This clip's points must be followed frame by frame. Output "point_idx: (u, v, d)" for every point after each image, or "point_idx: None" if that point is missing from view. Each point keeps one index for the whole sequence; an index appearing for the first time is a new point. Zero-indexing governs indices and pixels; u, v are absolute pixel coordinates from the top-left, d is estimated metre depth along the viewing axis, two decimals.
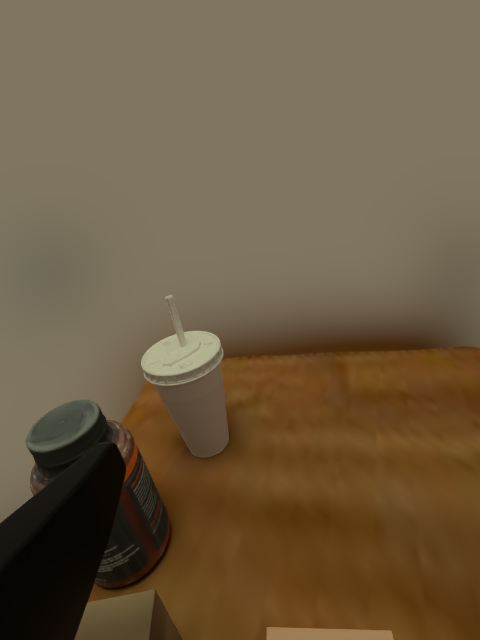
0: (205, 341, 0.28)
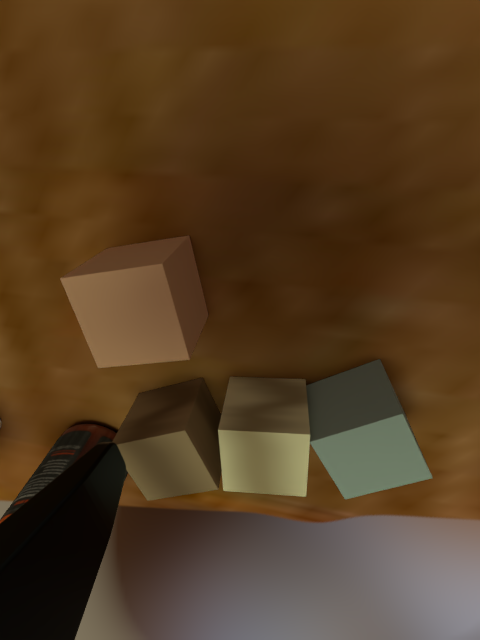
0: None
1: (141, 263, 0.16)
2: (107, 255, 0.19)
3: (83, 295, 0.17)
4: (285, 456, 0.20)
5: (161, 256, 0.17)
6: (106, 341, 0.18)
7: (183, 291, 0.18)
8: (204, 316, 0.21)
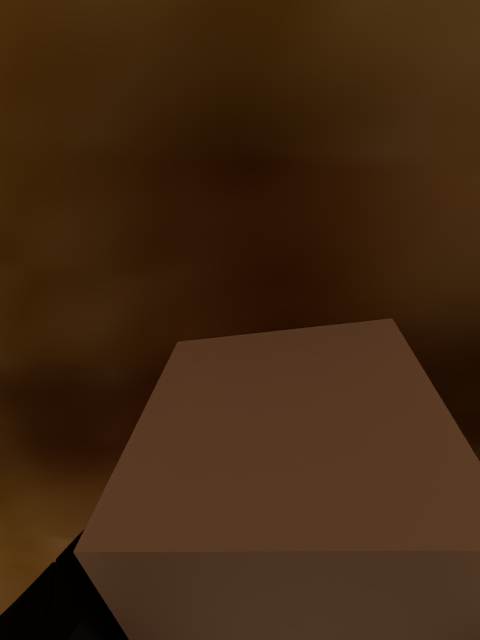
0: None
1: (390, 502, 0.04)
2: (197, 387, 0.07)
3: (156, 596, 0.05)
4: None
5: (437, 453, 0.05)
6: None
7: None
8: None
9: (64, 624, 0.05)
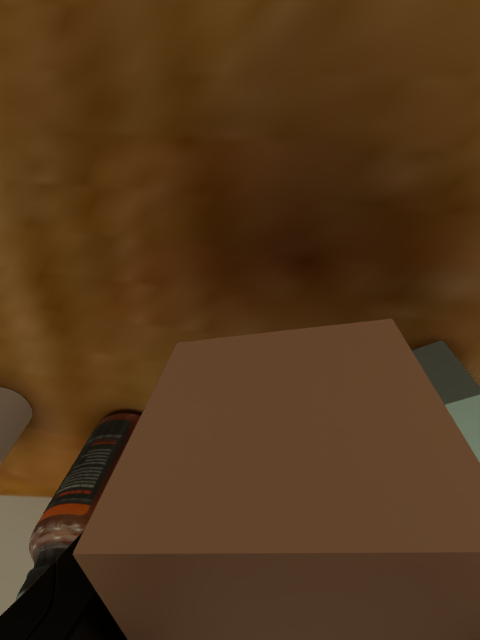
0: None
1: (390, 503, 0.04)
2: (196, 388, 0.07)
3: (157, 598, 0.05)
4: None
5: (437, 454, 0.05)
6: None
7: None
8: None
9: (64, 625, 0.05)
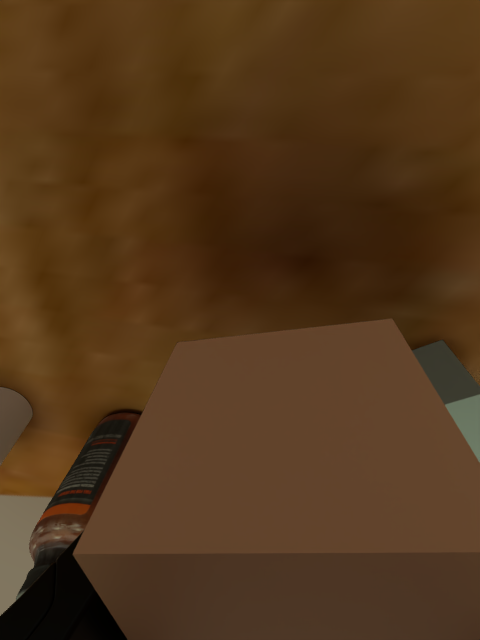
0: None
1: (390, 503, 0.04)
2: (196, 388, 0.07)
3: (157, 598, 0.05)
4: None
5: (437, 454, 0.05)
6: None
7: None
8: None
9: (63, 625, 0.05)
